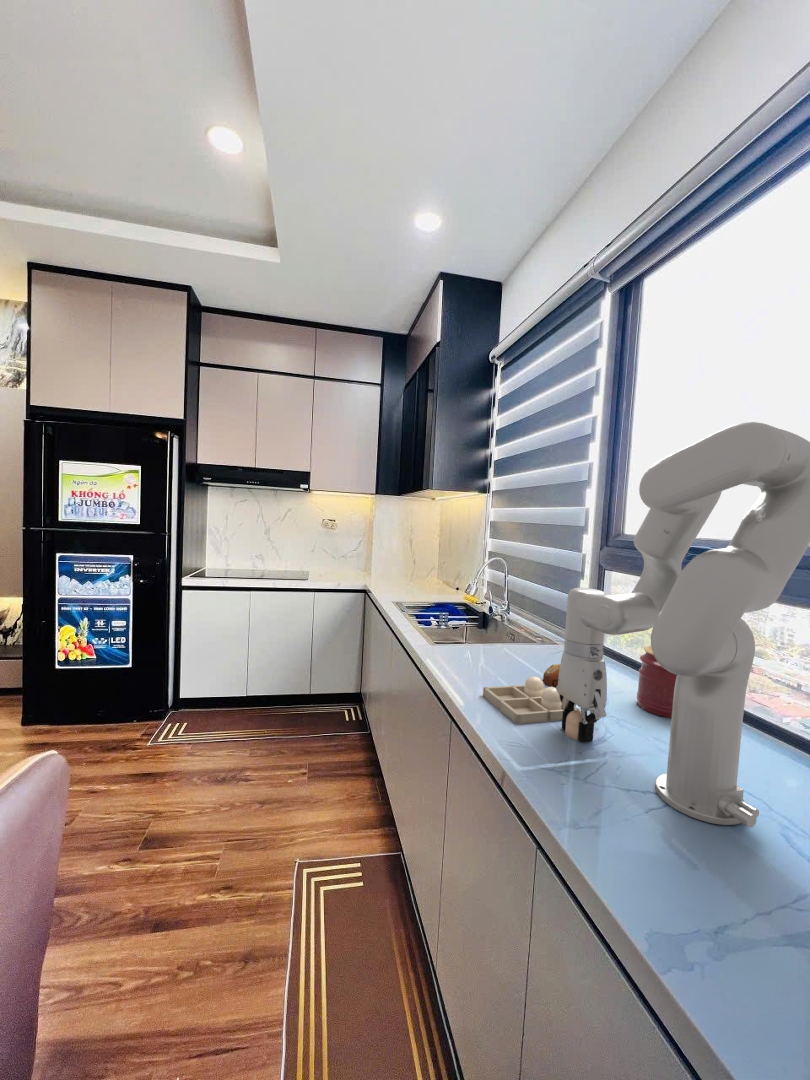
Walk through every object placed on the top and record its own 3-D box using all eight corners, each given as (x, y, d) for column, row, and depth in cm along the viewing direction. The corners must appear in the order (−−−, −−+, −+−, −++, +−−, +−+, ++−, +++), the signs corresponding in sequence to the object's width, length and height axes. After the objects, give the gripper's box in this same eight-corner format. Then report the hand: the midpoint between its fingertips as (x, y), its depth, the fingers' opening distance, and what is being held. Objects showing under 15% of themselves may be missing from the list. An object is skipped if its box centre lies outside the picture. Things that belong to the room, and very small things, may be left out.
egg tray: (578, 720, 104) (579, 709, 104) (516, 726, 99) (517, 714, 99) (538, 693, 119) (539, 684, 119) (482, 697, 114) (483, 687, 114)
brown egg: (593, 742, 94) (595, 715, 94) (574, 744, 93) (576, 716, 92) (578, 732, 98) (580, 706, 98) (560, 733, 97) (562, 707, 97)
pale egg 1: (546, 702, 112) (548, 679, 112) (530, 703, 111) (532, 680, 110) (536, 695, 116) (537, 673, 116) (520, 696, 115) (521, 674, 115)
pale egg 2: (565, 715, 105) (567, 690, 105) (548, 716, 104) (549, 691, 104) (553, 706, 110) (555, 683, 109) (536, 708, 108) (538, 684, 108)
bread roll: (576, 697, 129) (575, 667, 132) (587, 694, 119) (586, 662, 122) (540, 693, 129) (540, 664, 133) (548, 690, 120) (548, 659, 123)
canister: (643, 715, 109) (649, 642, 108) (630, 695, 122) (635, 630, 121) (705, 724, 106) (711, 649, 105) (685, 703, 119) (690, 635, 118)
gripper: (629, 660, 88) (621, 753, 88) (572, 637, 104) (566, 716, 105) (596, 662, 85) (589, 757, 86) (543, 638, 101) (537, 718, 102)
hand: (576, 734), depth 95 cm, fingers closed on brown egg, 4 cm apart
